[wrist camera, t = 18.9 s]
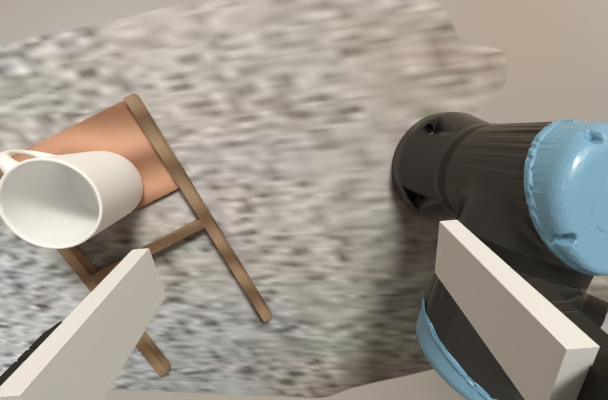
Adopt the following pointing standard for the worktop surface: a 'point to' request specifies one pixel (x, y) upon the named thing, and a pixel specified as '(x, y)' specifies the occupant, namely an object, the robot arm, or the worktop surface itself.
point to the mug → (66, 195)
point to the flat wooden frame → (156, 183)
